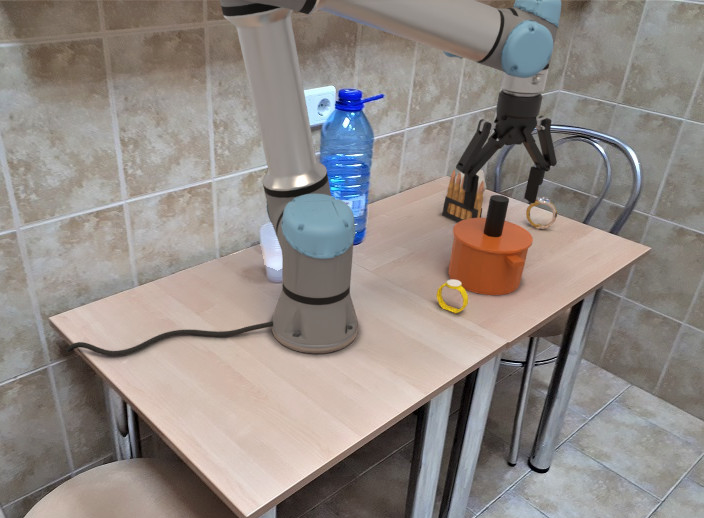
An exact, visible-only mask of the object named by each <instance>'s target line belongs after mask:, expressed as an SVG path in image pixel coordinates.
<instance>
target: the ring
mask: <svg viewBox="0 0 704 518" xmlns="http://www.w3.org/2000/svg"><path fill="white" fill-rule="evenodd" d="M551 201H552V199H549V198H548V196H542V197H539V196H537V197H536V201H535V203H531V202H530V204H529V206H527V207H526V210H525V215H526V219H527V222H528V223H529V224H530V225H531V226H532V227H534V228H535V229H536V230H539V229H547V228H549V227H551V226H552V225H554V223H555V222H556V220H557V217H558V210H557V208H556V206H555V204H554V203H552V202H551ZM540 205H544V206H545V205H546V206H547V207H549V208H550V209H551V212H552V219H551V221H550V222H548V223H547V224H541V223H536V222H535V221H534V220H533V219H532V217H531V209H532V208H533V207H535V206H540Z"/></svg>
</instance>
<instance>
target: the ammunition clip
mask: <svg viewBox="0 0 704 518" xmlns="http://www.w3.org/2000/svg"><path fill="white" fill-rule="evenodd" d="M457 175H458V176H457ZM457 175H456V170H455V169H453V171H452V172H451V174H450V177H449V178H450V179H449V184H448V187H447V191H446V196H444V197H445V198H444V202H443V208H442V213H441V215H442V216H443V217H445V218H448V219H450V220H451V221H455V222H457V223H458V222H460V221H462V220H465V219H470V218H482V213H483V201H484V192H485V191H484V181H482V182H481V184H480V186H479V190H478V187H477V191H478V194H477V192H476V198H475V204H474V209H471V210H470V209H469V208H467V207H466V206H465V205H464V204H463V203H464V196H465V190H463V181H464V177H463V180H462V183H461V173H460V171H459V172H458V173H457ZM456 176H457V179H456V183H455V178H456ZM460 185H461V188H460ZM483 191H484V192H483Z"/></svg>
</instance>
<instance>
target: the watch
mask: <svg viewBox="0 0 704 518" xmlns="http://www.w3.org/2000/svg"><path fill="white" fill-rule="evenodd" d="M461 284H462V283H461V282H460V281H458V280H454V279H448V280H446V282H444V283H443V284H440V286H439V287H438V288H437V291H436V300H437V303H438V305H439V306H440V308H441V309H443V310H445V311H449V312H451V313H454V314H458V313H460V312H462V311H464V310H465V309H466V308H467V305H468V304H469V295H468V292H467V290H466V289H464V288H463V287H462V286H461ZM444 287H447V288H448V289H451V290H457V291H458V292H459V293H460V295H461V297H462V306H461V307H460V308H457V307H453V306H451V305H448V304H447V303H446V302H445V301H444V298H443V288H444Z"/></svg>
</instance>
